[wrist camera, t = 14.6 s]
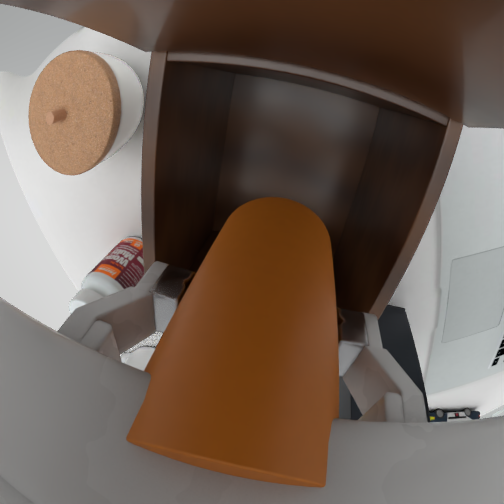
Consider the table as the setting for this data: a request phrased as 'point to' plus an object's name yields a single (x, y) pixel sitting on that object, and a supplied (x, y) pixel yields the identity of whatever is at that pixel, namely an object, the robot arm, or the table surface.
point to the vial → (251, 353)
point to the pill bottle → (112, 273)
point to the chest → (290, 162)
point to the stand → (402, 350)
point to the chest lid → (329, 41)
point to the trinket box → (84, 110)
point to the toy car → (454, 415)
